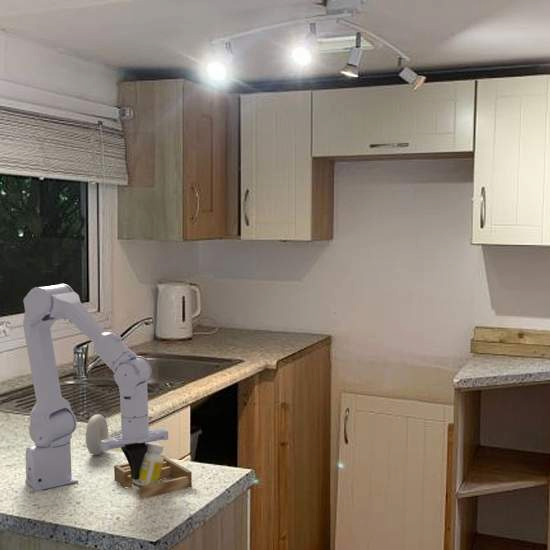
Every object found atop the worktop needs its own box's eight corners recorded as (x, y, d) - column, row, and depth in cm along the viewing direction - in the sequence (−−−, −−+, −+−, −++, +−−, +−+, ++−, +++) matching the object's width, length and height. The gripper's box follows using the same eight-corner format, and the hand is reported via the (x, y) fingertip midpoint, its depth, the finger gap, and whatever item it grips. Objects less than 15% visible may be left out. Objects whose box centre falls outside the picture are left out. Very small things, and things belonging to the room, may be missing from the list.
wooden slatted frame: (141, 499, 157) (140, 483, 156) (114, 480, 168) (114, 465, 168) (191, 487, 163) (191, 471, 163) (162, 469, 175) (162, 455, 175)
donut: (97, 447, 192) (96, 409, 191) (110, 448, 192) (109, 409, 191) (84, 460, 182) (82, 420, 181) (97, 460, 182) (96, 420, 181)
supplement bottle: (154, 488, 164) (165, 444, 165) (156, 494, 159) (168, 448, 160) (130, 484, 163) (141, 439, 164) (131, 489, 158) (143, 443, 159)
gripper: (109, 424, 152) (111, 490, 152) (173, 413, 160) (175, 476, 160) (96, 417, 158) (98, 481, 158) (159, 407, 166) (161, 468, 166)
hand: (136, 478), depth 160 cm, fingers closed, pressing on supplement bottle
